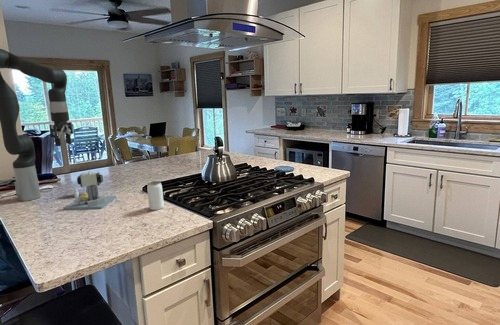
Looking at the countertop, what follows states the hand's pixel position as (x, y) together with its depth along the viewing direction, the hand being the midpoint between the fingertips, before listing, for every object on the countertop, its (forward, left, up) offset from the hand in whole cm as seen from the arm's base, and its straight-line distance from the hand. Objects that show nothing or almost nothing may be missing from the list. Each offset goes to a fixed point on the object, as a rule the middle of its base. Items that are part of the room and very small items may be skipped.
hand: (63, 144), depth 155 cm
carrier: (+13, -6, -29) cm, 32 cm away
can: (+48, -15, -29) cm, 58 cm away
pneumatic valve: (+5, +11, -29) cm, 31 cm away
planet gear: (+15, -7, -28) cm, 32 cm away
